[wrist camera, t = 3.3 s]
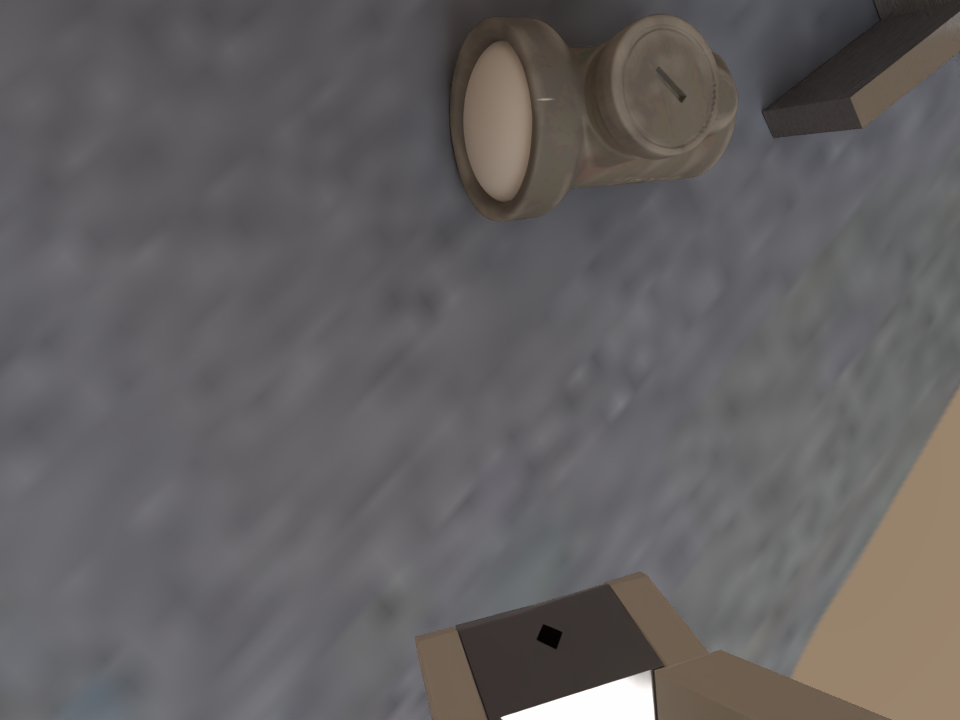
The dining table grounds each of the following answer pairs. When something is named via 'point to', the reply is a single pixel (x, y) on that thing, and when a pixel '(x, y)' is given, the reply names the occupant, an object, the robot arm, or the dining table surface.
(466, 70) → the vintage flashlight
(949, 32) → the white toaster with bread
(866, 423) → the dining table surface
